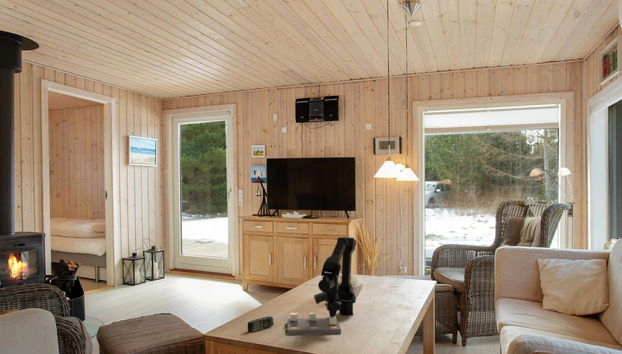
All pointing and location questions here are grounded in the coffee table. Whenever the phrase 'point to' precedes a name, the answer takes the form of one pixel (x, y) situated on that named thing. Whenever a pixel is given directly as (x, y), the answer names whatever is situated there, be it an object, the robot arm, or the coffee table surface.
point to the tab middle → (312, 316)
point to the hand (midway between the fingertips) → (331, 320)
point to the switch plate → (312, 327)
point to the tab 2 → (332, 320)
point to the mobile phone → (260, 324)
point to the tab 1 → (293, 316)
